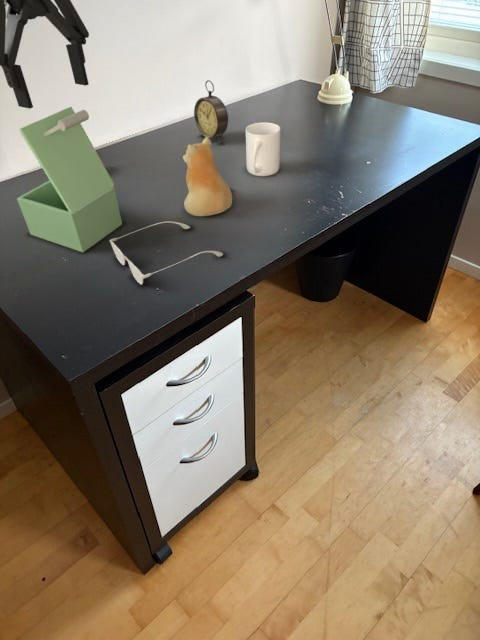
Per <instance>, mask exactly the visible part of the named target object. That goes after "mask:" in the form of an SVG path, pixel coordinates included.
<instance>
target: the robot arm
mask: <svg viewBox="0 0 480 640" xmlns="http://www.w3.org/2000/svg"><path fill="white" fill-rule="evenodd" d="M53 1H54V2H53ZM53 1H52V0H0V67H1V69H2V71H3V75H4V77H5V80H6V83H7V85H8V87H9V88H11V89H12V90H13V93H14V96H15V99H16V102H17V106H18V107H19V108H25V109H33V108H34V105H33V102H32V98H31V95H30V93H29V92H30V91H29V89H28V86H27V85H28V84H27V83H26V79H25V76H24V73H23V69H22V66H21V64H16V62H17V57H18V53H19V49H20V46H21V41H22V36H23V33H24V30H25V26H26V25H27V24H28V22H29V20H30V21H31V20H36V18H38V17H39V18H40V17H41V18H43V17H45V18H46V19H47V20H48V21H49V22H50V24H52V26H53V27H54V28H55V29H56V30H57V31H58V32H59V33H60V34H61V35H62V36H63V37H64V39H66V41H67V42H69V43H68V44H65V48H66V51H67V55H68V59H69V63H70V68H71V72H72V76H73V81H74V84H75V85H80V86H89V84H90V83H89V78H88V74H87V70H86V66H85V64H86V56H85V52H84V49H83V45H84V46H85V45H86V44H87V40H86V39H88V38H89V37H90V33H89V30H88V29H87V27H86V25H85V23H84V21H83V20H82V18H81V16H80V15H79V13H78V11H77V9H76V7H75V6H74V4H73V2H72V0H53ZM7 5H8V7H7V9H6V6H7Z"/></svg>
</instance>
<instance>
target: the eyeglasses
mask: <svg viewBox="0 0 480 640" xmlns="http://www.w3.org/2000/svg"><path fill="white" fill-rule="evenodd" d="M167 223H170V224H175V225H179V226H180V227H181V228H182V229H184V230H188V229H190V228H191V226H190V225H189V224H185V223H184V222H179V221H172V220H171V221H170V220H169V221H168V220H167V221H166V220H165V221H160V222H157V223H156V222H155V223H154V224H151V225H148V226H146V227H142V228H140V229H137V230H134V231H132V232H129V233H127V234H124V235H122V236H120V237H114V238H111V239H109V243H110V245H111V249H112V251H113V253H114V255H115V257H116V259H117V260H118V262H119V263H120V264H121V265H122V266H125V265H126V262H127V263H128V266H129V269H130V272H131V274H132V276H133V278H134V279H135V281H136V282H137V283H139V285H143V284H144V279H147V278H149V277H151V276H152V275H153V274H156V273H158V272H160V271H163V270H166V269H168V268H171V267H173V266H175V265H178V264H180V263H183V262H184V261H187V260H189V259H193V258H194V257H195V256H198V255H200V254H204V253H211V254H214V255H215V256H216V257H218V258H220V257H223V255H224V253H223V252H221V251H219V250H204V251H200V252H197V253H195V254H193V255H191V256H189V257H187V258H186V259H183V260H181V261H179V262H177V263H174V264H171V265H169V266H166V267H164V268H161V269H159V270H157V271H154V272H148V273H146V274H144V273H142V272H141V270H140V269H139V268H138V267H137V266H136V265H135V264H134V263H133V262H132V261H131V260H130V259H129V258H128V257H127V256H126V255H125V254H124V253H123V252H122V250H121V249H120V248H119V247H118V246H117V244H115V243H114V242H116V241H118V240H119V239H122V238H123V237H126V236H128V235H131V234H133V233H136V232H138V231H141V230H144V229H147V228H149V227H152V226H156V225H160V224H167Z"/></svg>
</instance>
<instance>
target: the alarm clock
mask: <svg viewBox="0 0 480 640" xmlns="http://www.w3.org/2000/svg"><path fill="white" fill-rule="evenodd" d="M208 82H209V83H210V84H211V86H212V91H211V90H209V89H208V87H207V83H208ZM204 86H205V89H206V91H207V93H208V95H207V96H203V97H200V98H199V99H197V100H196V102H195V105H194V108H193V109H194V110H193V116H194V122H195V126H196V127H197V129H198V131H199V133H200V134H201V135H200V137H201V138H202V137H205V138H206V137H208V138H209V139H210V140H211V139H214V138H216V139H217V141H218V143H219V144H220V145H222V141H221V136H222V135H224V134H225V133H226V131H227V129H228V126H229V115H228V110H227V107H226V105H225V103H224V102H223V100H222V99H220V97H218V96H217V95H212V94H213V93H214V91H215V86H214V83H213V82H212V81H211V80H208V79H207V80H206V81H205V84H204Z"/></svg>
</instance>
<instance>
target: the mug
mask: <svg viewBox="0 0 480 640" xmlns="http://www.w3.org/2000/svg"><path fill="white" fill-rule="evenodd" d="M245 157H246V158H245V159H246V160H245V162H246V170H247V172H248V173H249V174H251V175H252V176H256V177H269V176H273V175H275V174H276V173H278V171H279V170H280V164H281V163H280V162H281V161H280V160H281V159H280V158H281V126H280V125H278V124H276V123H273V122H255V123H251V124H248V125H247V126H246V127H245Z"/></svg>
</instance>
